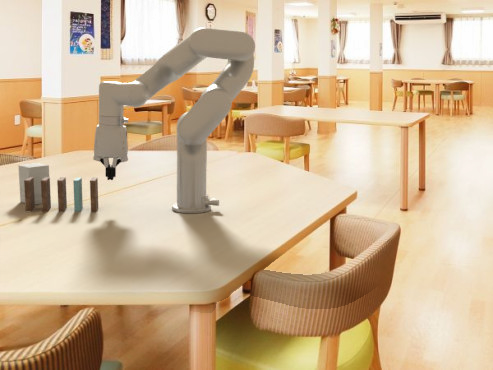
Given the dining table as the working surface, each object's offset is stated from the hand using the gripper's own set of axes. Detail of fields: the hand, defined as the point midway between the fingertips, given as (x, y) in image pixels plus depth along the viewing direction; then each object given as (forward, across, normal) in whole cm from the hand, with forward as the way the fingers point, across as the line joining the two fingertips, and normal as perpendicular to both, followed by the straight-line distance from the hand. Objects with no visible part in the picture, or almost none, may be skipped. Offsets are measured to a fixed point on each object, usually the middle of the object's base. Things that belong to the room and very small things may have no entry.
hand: (110, 179), depth 192 cm
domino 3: (+10, +15, 0) cm, 18 cm away
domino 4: (+10, +10, 0) cm, 14 cm away
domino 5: (+10, +5, 0) cm, 11 cm away
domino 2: (+11, +20, 0) cm, 23 cm away
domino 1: (+11, +25, 0) cm, 27 cm away
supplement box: (+11, +26, -10) cm, 30 cm away
